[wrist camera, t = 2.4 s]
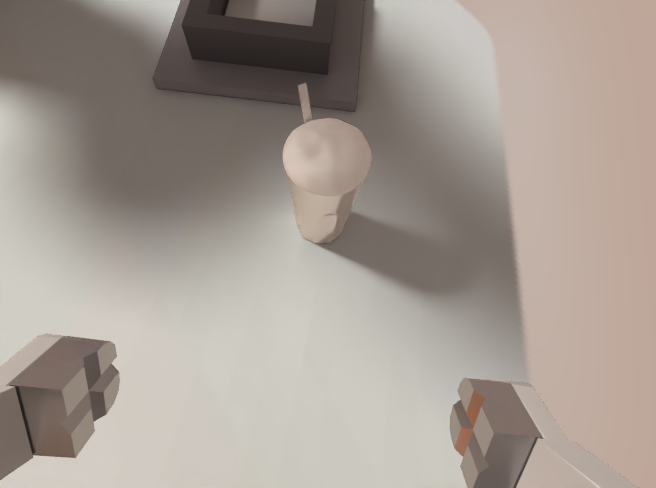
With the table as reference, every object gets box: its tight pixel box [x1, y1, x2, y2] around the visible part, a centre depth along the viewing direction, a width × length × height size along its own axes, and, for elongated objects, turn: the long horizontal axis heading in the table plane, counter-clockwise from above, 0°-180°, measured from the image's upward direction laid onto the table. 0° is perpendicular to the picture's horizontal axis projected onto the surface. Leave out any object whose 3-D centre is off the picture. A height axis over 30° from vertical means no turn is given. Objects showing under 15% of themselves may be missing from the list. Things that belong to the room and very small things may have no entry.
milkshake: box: [283, 83, 372, 244], centre depth 22 cm, size 4×5×10 cm
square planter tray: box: [153, 0, 364, 111], centre depth 32 cm, size 16×16×4 cm
